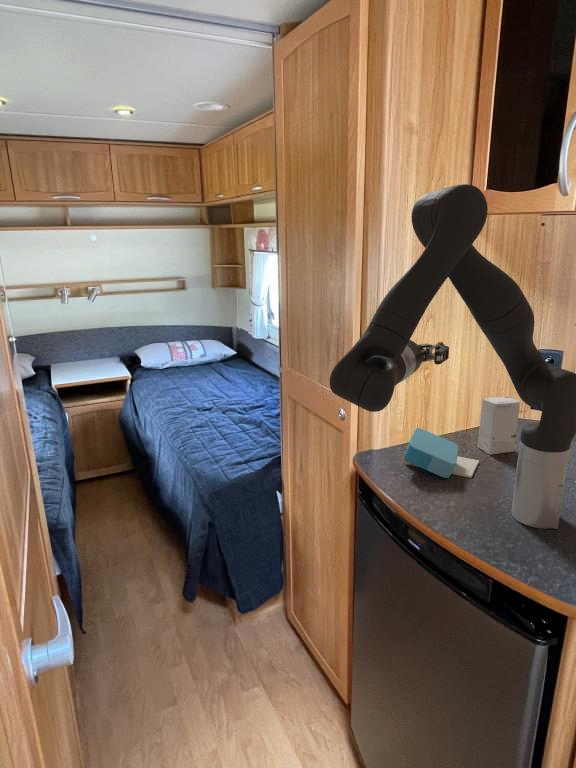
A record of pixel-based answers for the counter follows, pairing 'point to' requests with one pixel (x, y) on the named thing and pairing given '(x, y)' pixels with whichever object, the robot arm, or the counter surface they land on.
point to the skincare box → (498, 425)
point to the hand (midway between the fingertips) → (421, 344)
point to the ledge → (409, 463)
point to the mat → (464, 467)
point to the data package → (432, 453)
